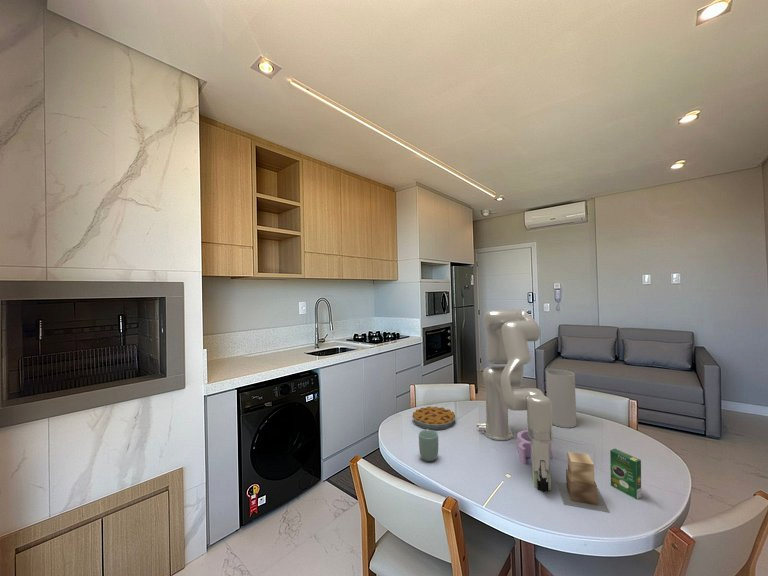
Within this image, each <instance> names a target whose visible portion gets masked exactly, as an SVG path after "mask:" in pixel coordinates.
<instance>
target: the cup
mask: <svg viewBox="0 0 768 576" xmlns="http://www.w3.org/2000/svg"><path fill="white" fill-rule="evenodd" d="M418 447H419V449H418V450H419V455H420V457H421V459H422V460H423V461H426V462H433V461H435V460H437V458H438V454H439V433H438V432H437V430H432V429H422V430H420V431H419V433H418Z"/></svg>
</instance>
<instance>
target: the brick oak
mask: <svg viewBox="0 0 768 576" xmlns="http://www.w3.org/2000/svg"><path fill="white" fill-rule="evenodd" d="M566 455H567V469H568V472H569V474H570V477H571V479H572V481H577V482H583V483H589V484H595V483H596V481H595V464H594V462H593V460H592V459H591V457H590V455H589V454H586V453H577V452H569V451H567V453H566ZM594 481H595V482H594Z"/></svg>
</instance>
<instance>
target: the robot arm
mask: <svg viewBox="0 0 768 576" xmlns="http://www.w3.org/2000/svg"><path fill="white" fill-rule="evenodd" d="M483 325H484V327H485V331H486V358H487V361H488V363H489V364H491V365H490V366H487V367H485V368H484V369H483V371H482V378H483V383H484V389H485V390H484V391H485V408H486V409H485V412H486V414H485V415H486V420H485V422H483V423H482V422H477V423H476V427H477V428H478V429H479V430H483V434H484V436H485V437H487V438H489V439H491V440H496V441H508V440H511V439H512V438H513V432H512V431H511V430H510V429H509V410H510V411H512V412H515V411H527V412H526V417H527V418H526V419H527V420H526V421H527V429H528V437H529V438H530V439H531V458H530V460H531V461H530V462H531V466H532V467H533V470H534V471H538V479H537V488H536V489H537V491H541V492H542V493H545V492H547V493H548V492H549V491H550V490H549V489H548V478H547V473H549V472H550V470H551V469H550V467H551V464H550V463H551V462H550V461H551V460H550V455H549V442H551V443H552V441H553V439H554V438H553V424H552V406H551V400H550V399H549V398H548V397H547V395H545V394H544V392H543V391H542V390H541V389H539V388H537V387H536V388H534V387H532V388H531V387H528V388H527V387H526V388H525V387H523V388H520V387H519V386H522V384H523V381H524V367H525V365H527V364H528V363H530V362H531V360H532V357H531V353H530V347H529V345H528V342H529V343H530V342H537V341H538V340H540V338H541V329H540V326H539V324H538V323H537V321H536V320H535V319H534V318H533V317H532V316H531V315H530V314H529V313H528V312H527V311H526V310H525V309H518V308H515V309H514V308H513V309H491V310H488V311H486V312H485V313H484V315H483ZM512 387H514V388H512ZM515 387H519V388H515ZM532 467H531V468H532ZM539 468H541V470H539ZM540 473H541V475H540ZM550 473H551V472H550Z"/></svg>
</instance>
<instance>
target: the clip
mask: <svg viewBox="0 0 768 576" xmlns="http://www.w3.org/2000/svg"><path fill="white" fill-rule="evenodd" d="M516 437H517V439H516V440H517V454H518V461H519V462H520V463H521V464H523V465H526V464H527V458H529V459H531V439H530V438H529V437H528V428H525V430H521V431H518V432H517V434H516ZM552 453H553V451H552V441H551V442H549V455H550V461H551V460H552Z"/></svg>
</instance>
